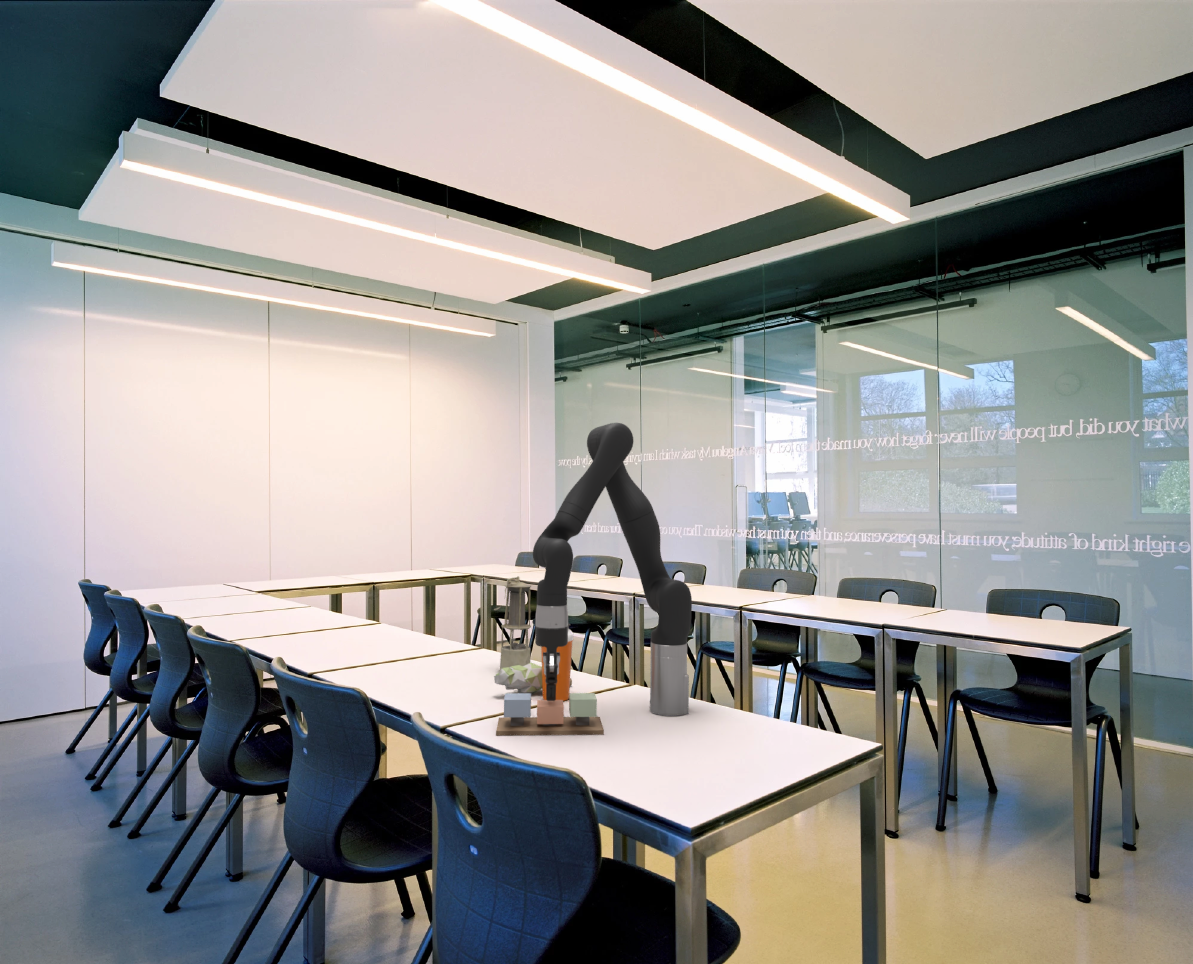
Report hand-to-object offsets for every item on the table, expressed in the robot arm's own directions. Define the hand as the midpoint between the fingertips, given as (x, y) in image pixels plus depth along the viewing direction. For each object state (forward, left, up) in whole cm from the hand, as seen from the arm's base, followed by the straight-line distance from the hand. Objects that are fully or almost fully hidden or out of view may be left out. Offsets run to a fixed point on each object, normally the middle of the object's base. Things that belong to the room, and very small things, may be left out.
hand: (550, 699), depth 169 cm
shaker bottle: (-2, -27, -7) cm, 28 cm away
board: (0, 0, -6) cm, 6 cm away
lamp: (+11, -58, -7) cm, 60 cm away
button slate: (+8, 0, -3) cm, 8 cm away
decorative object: (+4, -35, -7) cm, 35 cm away
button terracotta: (0, 0, -5) cm, 5 cm away
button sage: (-7, 0, -3) cm, 8 cm away
